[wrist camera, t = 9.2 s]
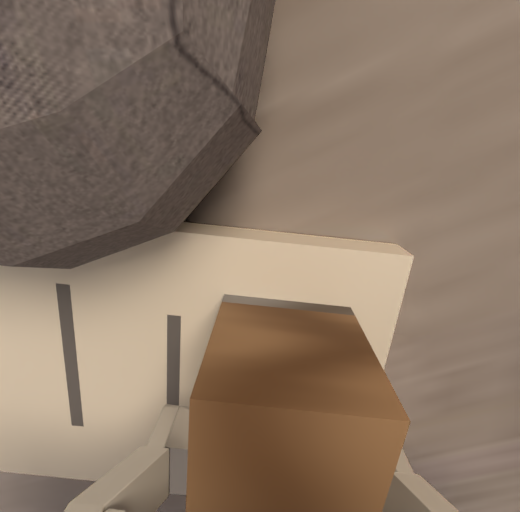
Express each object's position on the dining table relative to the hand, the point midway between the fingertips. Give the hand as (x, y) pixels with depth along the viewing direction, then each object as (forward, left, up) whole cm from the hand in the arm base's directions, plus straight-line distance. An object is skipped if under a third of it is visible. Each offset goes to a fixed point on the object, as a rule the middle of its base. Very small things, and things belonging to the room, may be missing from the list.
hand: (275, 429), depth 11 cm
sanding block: (0, 0, -2) cm, 2 cm away
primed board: (+4, 0, -3) cm, 5 cm away
